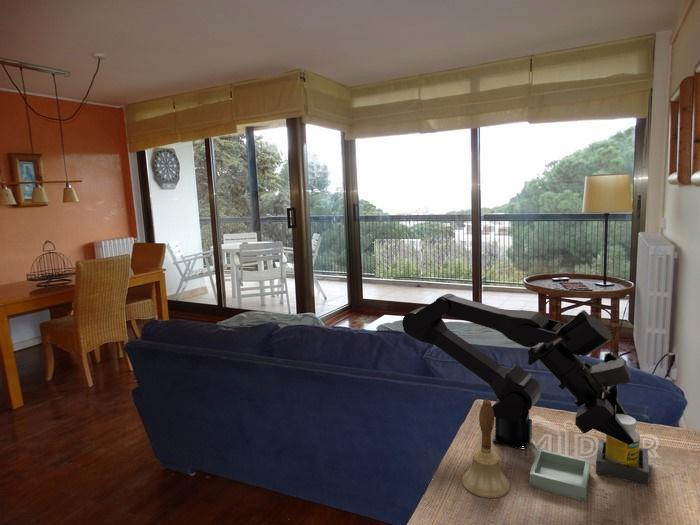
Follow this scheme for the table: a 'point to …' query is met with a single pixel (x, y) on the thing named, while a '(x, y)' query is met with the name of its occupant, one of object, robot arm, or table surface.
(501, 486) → the hand bell
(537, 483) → the tray
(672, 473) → the table surface
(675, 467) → the table surface
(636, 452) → the supplement bottle
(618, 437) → the robot arm
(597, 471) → the collar
